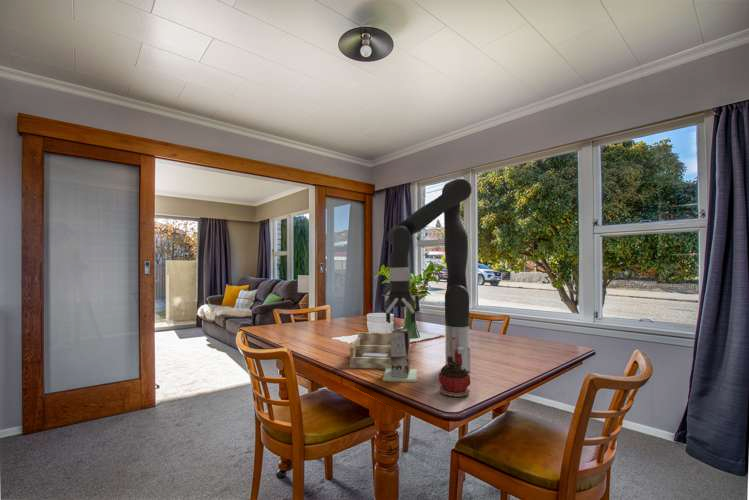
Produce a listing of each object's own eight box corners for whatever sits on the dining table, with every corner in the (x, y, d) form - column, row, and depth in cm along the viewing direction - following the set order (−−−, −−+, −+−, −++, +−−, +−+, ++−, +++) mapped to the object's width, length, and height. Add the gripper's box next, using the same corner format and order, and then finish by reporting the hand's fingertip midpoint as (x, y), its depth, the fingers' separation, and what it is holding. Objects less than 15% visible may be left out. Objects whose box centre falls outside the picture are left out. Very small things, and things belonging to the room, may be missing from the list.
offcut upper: (388, 360, 147) (388, 353, 147) (386, 363, 143) (386, 356, 143) (365, 358, 149) (365, 352, 149) (362, 361, 145) (362, 355, 145)
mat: (416, 370, 138) (416, 368, 138) (416, 382, 125) (416, 379, 126) (385, 369, 140) (385, 367, 140) (382, 380, 127) (382, 378, 127)
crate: (400, 355, 162) (400, 333, 162) (397, 369, 141) (397, 343, 141) (358, 354, 164) (358, 332, 164) (349, 367, 143) (349, 342, 143)
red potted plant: (435, 387, 120) (435, 333, 121) (463, 386, 121) (462, 333, 121) (444, 399, 110) (444, 340, 110) (474, 398, 110) (473, 340, 111)
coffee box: (408, 377, 128) (408, 332, 128) (390, 376, 129) (390, 331, 129) (410, 370, 137) (410, 327, 137) (394, 369, 138) (393, 327, 138)
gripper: (418, 278, 137) (419, 321, 136) (381, 279, 138) (382, 321, 138) (418, 279, 129) (420, 324, 129) (379, 280, 131) (380, 324, 130)
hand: (400, 323), depth 133 cm, fingers open, 8 cm apart
